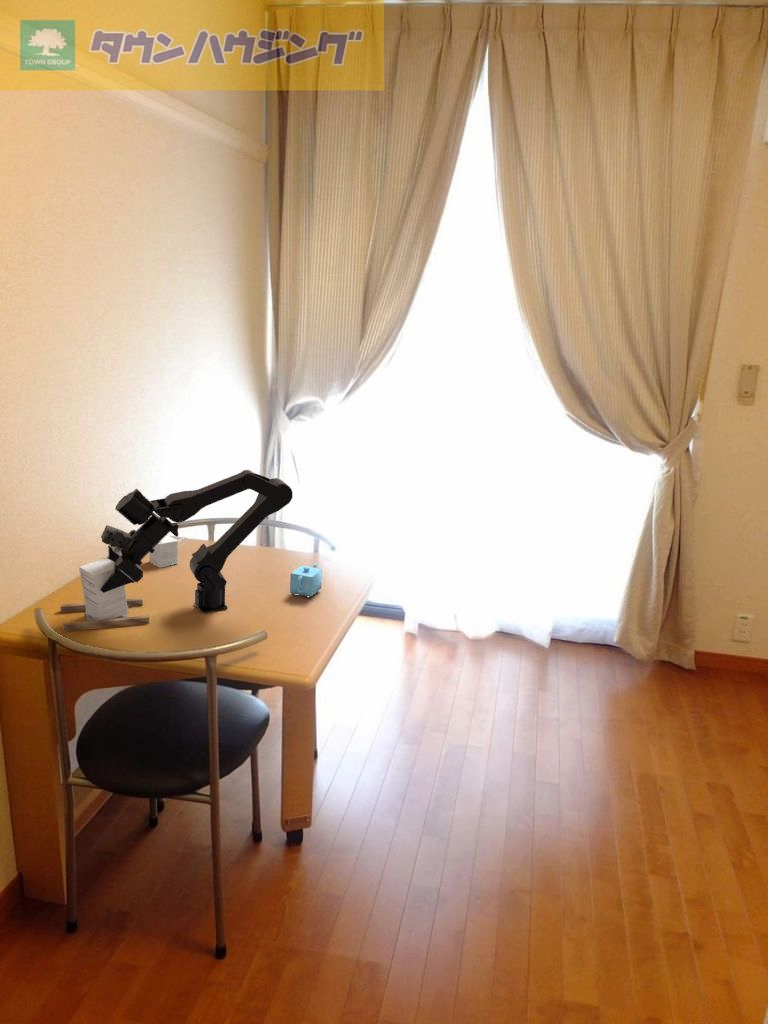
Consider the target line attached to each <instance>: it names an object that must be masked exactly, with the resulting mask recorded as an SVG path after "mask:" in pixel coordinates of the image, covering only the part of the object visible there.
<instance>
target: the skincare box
mask: <svg viewBox="0 0 768 1024" xmlns="http://www.w3.org/2000/svg"><path fill="white" fill-rule="evenodd" d="M154 550H155V551H154V552H153V553H151V552H149V553H148V554H149V559H148V560H149V563H150V562H151V563H150V564H152V563H153V564H152V565H154V564H155V565H156V566H155V565H154V566H155V567H157V568H158V567H159V569H162V568H166V567H170V565H171V566H175V565H174V564H176V565H179V540H177V539H175V538H174V537H172V536H170V535H169V534H167V535H166V536H165V537H164V538H163V539H162V540H161V541H160V542H159V543H158V544H157V545H156V546H155V547H154ZM161 567H162V568H161Z"/></svg>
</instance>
